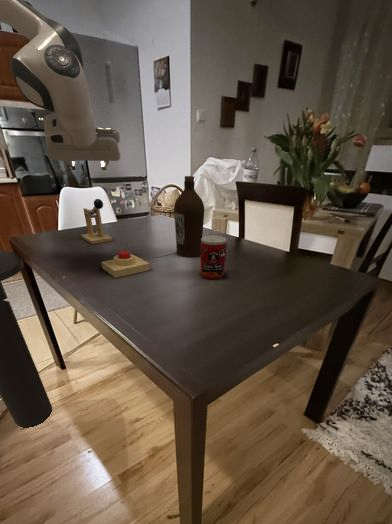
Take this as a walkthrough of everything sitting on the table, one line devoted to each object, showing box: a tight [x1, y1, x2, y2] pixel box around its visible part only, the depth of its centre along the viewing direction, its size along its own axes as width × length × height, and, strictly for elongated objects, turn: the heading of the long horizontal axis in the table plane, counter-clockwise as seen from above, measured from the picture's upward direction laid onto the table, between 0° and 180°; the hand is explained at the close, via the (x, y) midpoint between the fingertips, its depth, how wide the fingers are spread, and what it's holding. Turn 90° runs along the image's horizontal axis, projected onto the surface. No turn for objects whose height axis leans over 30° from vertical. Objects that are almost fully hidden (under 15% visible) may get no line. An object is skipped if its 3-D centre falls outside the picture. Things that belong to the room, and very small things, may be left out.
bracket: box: [80, 207, 113, 245], centre depth 117 cm, size 12×9×12 cm
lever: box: [89, 198, 104, 219], centre depth 110 cm, size 13×3×3 cm, turn 38°
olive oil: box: [173, 175, 205, 258], centre depth 100 cm, size 11×11×25 cm
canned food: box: [199, 235, 228, 280], centre depth 86 cm, size 8×8×11 cm
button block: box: [101, 253, 151, 279], centre depth 91 cm, size 12×10×4 cm
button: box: [117, 250, 131, 259], centre depth 89 cm, size 4×4×2 cm
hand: (89, 168), depth 89 cm, fingers open, 8 cm apart
